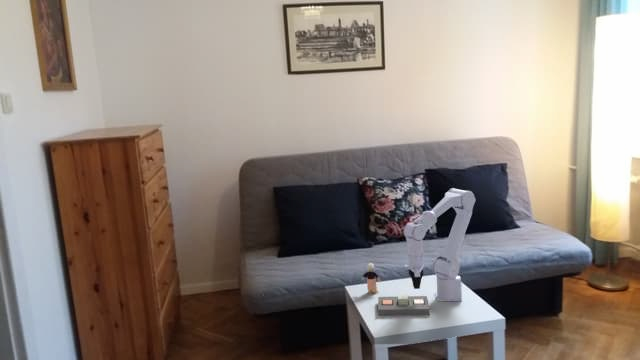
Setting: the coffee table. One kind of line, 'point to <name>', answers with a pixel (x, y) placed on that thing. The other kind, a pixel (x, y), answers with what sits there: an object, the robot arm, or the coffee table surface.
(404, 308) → the grey slotted board
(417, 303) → the ivory key
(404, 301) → the sage key
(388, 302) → the terracotta key
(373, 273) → the grandmother figurine
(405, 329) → the coffee table surface
